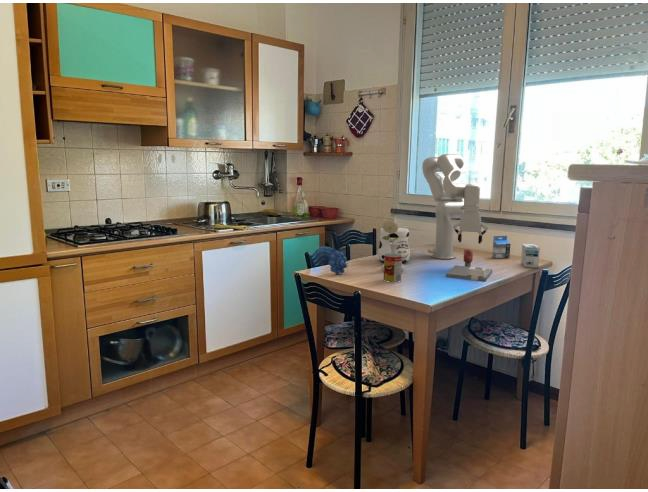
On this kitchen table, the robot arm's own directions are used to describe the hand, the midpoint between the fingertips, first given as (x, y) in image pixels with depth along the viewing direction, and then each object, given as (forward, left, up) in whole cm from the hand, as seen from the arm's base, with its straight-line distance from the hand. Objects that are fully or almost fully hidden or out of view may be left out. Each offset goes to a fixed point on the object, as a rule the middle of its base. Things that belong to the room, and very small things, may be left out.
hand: (469, 242), depth 240 cm
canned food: (-26, -44, -13) cm, 53 cm away
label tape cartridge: (+12, +34, -13) cm, 38 cm away
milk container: (-38, -5, -13) cm, 41 cm away
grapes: (-51, -46, -13) cm, 71 cm away
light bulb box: (+28, +20, -13) cm, 36 cm away
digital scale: (+3, -15, -13) cm, 20 cm away
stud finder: (+8, -21, -11) cm, 26 cm away
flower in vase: (-33, -25, -13) cm, 43 cm away
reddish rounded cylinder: (-1, +1, -13) cm, 13 cm away
